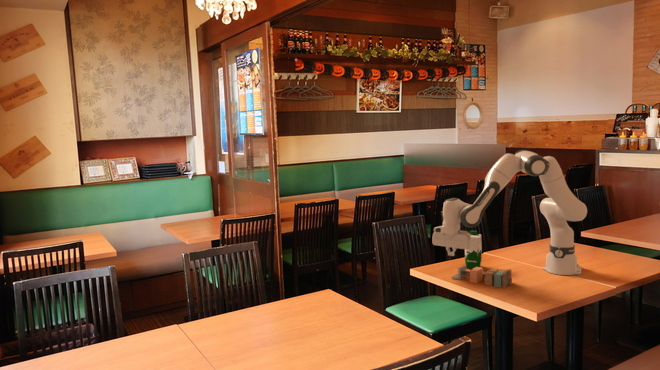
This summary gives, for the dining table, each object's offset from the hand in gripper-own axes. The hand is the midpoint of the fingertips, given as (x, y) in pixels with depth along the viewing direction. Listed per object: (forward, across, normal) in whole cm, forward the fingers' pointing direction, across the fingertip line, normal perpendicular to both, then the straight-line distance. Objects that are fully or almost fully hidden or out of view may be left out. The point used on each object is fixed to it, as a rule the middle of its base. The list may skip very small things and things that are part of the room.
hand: (451, 255), depth 265 cm
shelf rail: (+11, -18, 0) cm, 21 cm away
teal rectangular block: (+11, -26, 0) cm, 28 cm away
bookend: (+11, -4, 0) cm, 12 cm away
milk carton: (+11, -3, -22) cm, 25 cm away
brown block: (+11, -21, 0) cm, 24 cm away
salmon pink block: (+11, -14, 0) cm, 18 cm away
